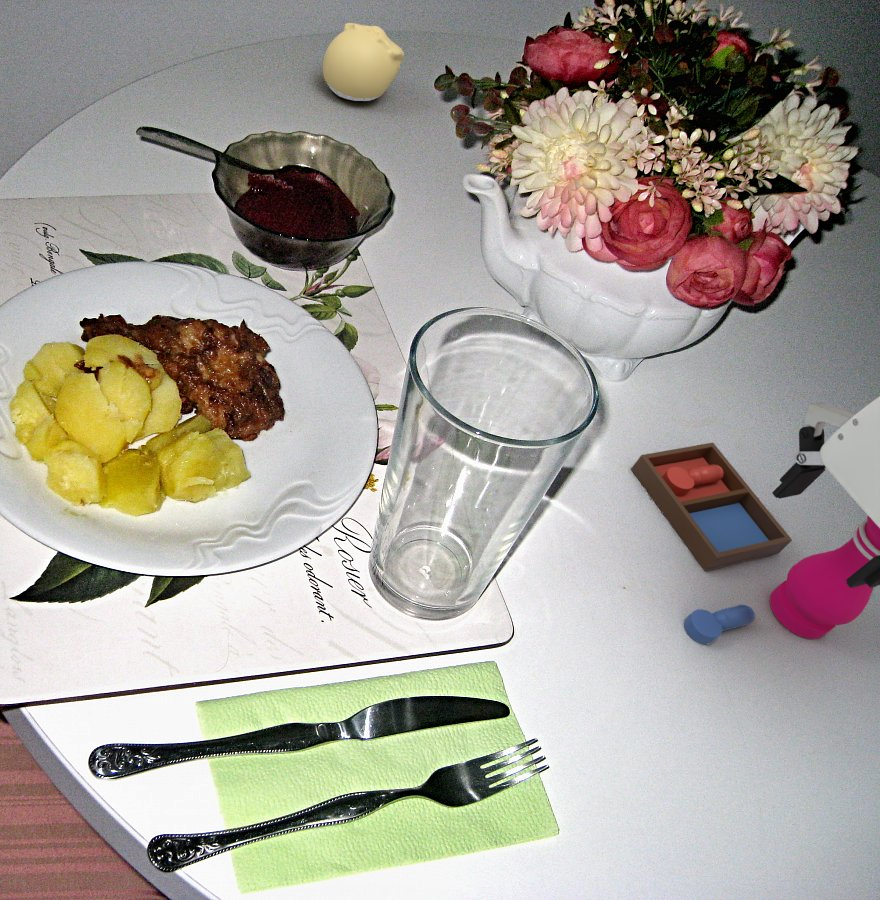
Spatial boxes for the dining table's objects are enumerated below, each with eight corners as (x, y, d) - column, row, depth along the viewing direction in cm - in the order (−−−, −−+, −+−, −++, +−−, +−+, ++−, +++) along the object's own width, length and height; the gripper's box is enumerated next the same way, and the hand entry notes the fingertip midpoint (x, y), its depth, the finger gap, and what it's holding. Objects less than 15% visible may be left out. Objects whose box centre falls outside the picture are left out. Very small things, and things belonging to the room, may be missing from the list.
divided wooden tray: (701, 455, 107) (713, 442, 105) (778, 553, 99) (792, 540, 97) (630, 468, 103) (641, 454, 101) (704, 571, 95) (717, 558, 93)
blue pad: (738, 503, 102) (739, 502, 102) (772, 546, 98) (773, 545, 98) (676, 516, 99) (677, 515, 98) (709, 561, 95) (709, 560, 95)
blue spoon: (735, 604, 93) (746, 594, 91) (755, 631, 91) (766, 621, 89) (677, 619, 90) (688, 609, 88) (696, 647, 88) (707, 637, 87)
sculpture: (399, 99, 151) (419, 36, 143) (357, 118, 144) (375, 53, 136) (348, 68, 155) (364, 5, 147) (304, 85, 148) (318, 20, 140)
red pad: (701, 461, 106) (712, 447, 104) (736, 505, 102) (749, 492, 100) (638, 472, 103) (648, 458, 101) (671, 519, 99) (683, 505, 97)
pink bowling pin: (846, 637, 92) (997, 525, 78) (793, 649, 90) (939, 535, 75) (802, 578, 97) (938, 461, 82) (751, 588, 94) (881, 469, 80)
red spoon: (707, 466, 105) (716, 455, 103) (724, 488, 103) (733, 477, 101) (655, 476, 102) (664, 465, 100) (671, 498, 100) (681, 487, 98)
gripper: (1096, 487, 63) (920, 611, 76) (916, 323, 73) (787, 457, 86) (1031, 503, 61) (859, 629, 73) (853, 330, 70) (729, 468, 83)
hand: (820, 536), depth 79 cm, fingers open, 9 cm apart
